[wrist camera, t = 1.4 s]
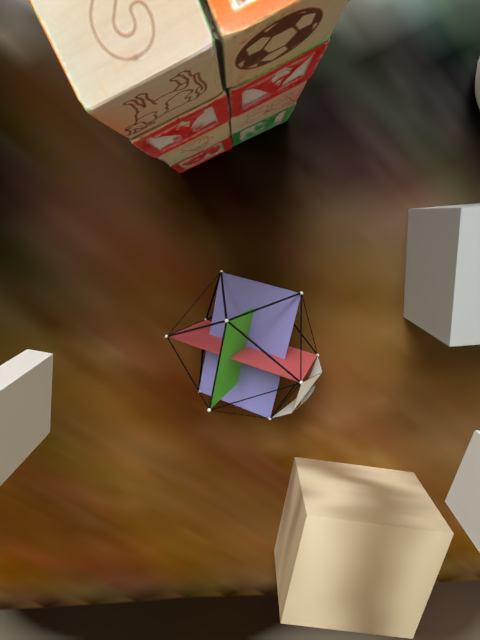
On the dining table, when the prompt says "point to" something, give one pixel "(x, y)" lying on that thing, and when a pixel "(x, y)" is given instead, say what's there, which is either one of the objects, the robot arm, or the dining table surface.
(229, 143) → the stack of blocks
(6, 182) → the dining table surface
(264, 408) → the geometric puzzle
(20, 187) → the dining table surface
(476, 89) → the energy drink can
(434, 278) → the grey block
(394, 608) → the beech block
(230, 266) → the dining table surface
